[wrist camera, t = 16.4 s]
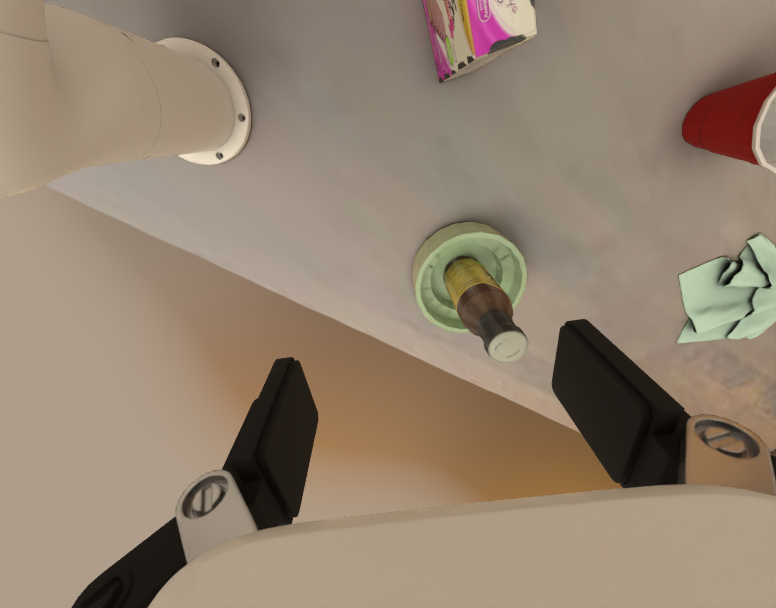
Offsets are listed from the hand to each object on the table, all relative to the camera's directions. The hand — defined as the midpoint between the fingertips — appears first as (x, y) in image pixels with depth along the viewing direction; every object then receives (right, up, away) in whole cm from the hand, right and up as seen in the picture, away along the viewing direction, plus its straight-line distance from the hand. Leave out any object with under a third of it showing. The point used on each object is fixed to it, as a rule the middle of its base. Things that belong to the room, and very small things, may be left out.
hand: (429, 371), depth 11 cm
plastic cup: (+39, +26, +28) cm, 55 cm away
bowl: (+10, +8, +38) cm, 40 cm away
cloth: (+56, +4, +41) cm, 70 cm away
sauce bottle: (+10, +7, +37) cm, 39 cm away
